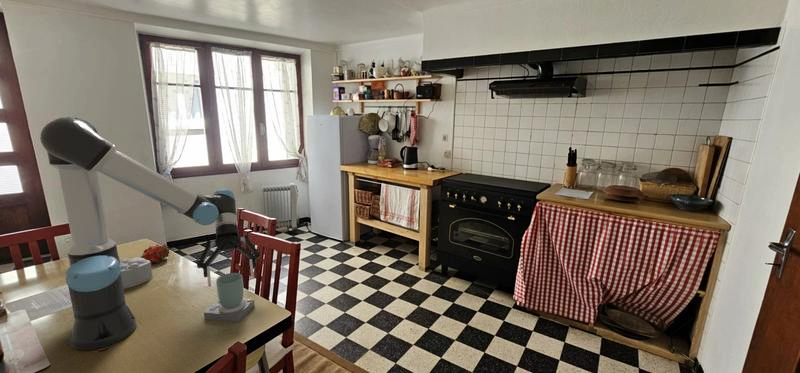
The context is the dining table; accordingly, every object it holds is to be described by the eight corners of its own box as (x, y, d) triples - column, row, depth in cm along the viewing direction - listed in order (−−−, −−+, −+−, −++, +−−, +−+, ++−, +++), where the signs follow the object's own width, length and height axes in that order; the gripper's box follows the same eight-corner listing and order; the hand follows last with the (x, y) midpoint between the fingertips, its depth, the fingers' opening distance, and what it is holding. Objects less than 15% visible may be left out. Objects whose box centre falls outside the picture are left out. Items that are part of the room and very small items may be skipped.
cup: (227, 314, 110) (224, 286, 108) (214, 306, 114) (211, 279, 112) (249, 303, 116) (247, 276, 114) (235, 296, 120) (233, 270, 118)
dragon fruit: (173, 260, 158) (144, 273, 148) (164, 247, 160) (134, 259, 150) (174, 250, 153) (144, 262, 143) (164, 237, 155) (134, 248, 145)
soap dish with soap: (238, 322, 110) (238, 314, 110) (204, 319, 111) (203, 311, 111) (254, 305, 120) (254, 298, 119) (222, 302, 121) (222, 295, 121)
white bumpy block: (155, 278, 138) (153, 258, 136) (118, 292, 127) (114, 271, 125) (142, 272, 142) (139, 253, 141) (104, 285, 131) (100, 264, 129)
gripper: (261, 227, 136) (268, 277, 127) (189, 236, 125) (191, 292, 115) (262, 218, 130) (270, 270, 121) (186, 227, 119) (188, 285, 109)
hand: (231, 281), depth 118 cm, fingers open, 13 cm apart
